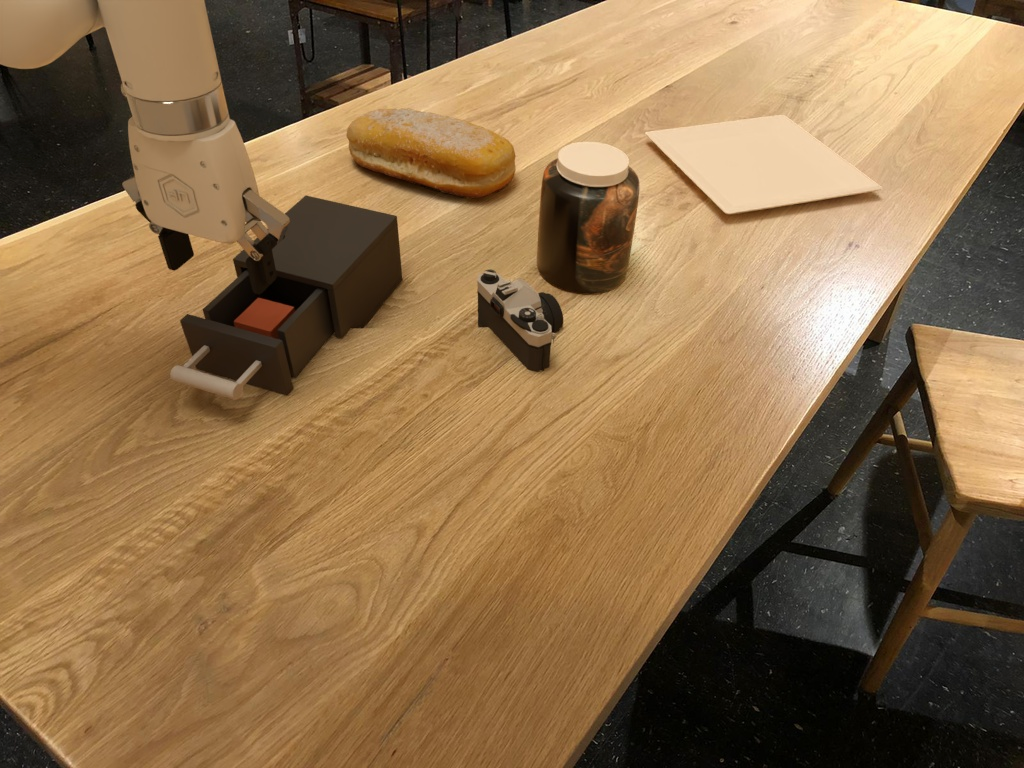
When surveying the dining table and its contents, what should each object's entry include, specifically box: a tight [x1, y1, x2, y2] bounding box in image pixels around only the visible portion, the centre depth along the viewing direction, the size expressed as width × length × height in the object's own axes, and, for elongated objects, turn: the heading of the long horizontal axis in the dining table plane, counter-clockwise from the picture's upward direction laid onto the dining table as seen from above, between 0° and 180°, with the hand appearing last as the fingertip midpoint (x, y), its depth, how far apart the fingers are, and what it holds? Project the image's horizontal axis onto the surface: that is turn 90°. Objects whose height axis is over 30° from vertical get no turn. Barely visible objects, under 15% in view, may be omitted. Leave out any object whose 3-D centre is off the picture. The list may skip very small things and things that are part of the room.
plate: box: [644, 114, 883, 216], centre depth 117 cm, size 26×26×2 cm
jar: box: [536, 141, 640, 295], centre depth 92 cm, size 12×12×15 cm
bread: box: [346, 107, 517, 199], centre depth 112 cm, size 13×26×8 cm, turn 64°
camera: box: [476, 269, 564, 373], centre depth 84 cm, size 13×8×9 cm, turn 34°
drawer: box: [169, 269, 335, 401], centre depth 79 cm, size 18×11×7 cm, turn 160°
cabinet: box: [232, 195, 403, 340], centre depth 88 cm, size 15×12×9 cm
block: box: [234, 298, 295, 340], centre depth 80 cm, size 4×4×4 cm
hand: (223, 274), depth 76 cm, fingers open, 9 cm apart
